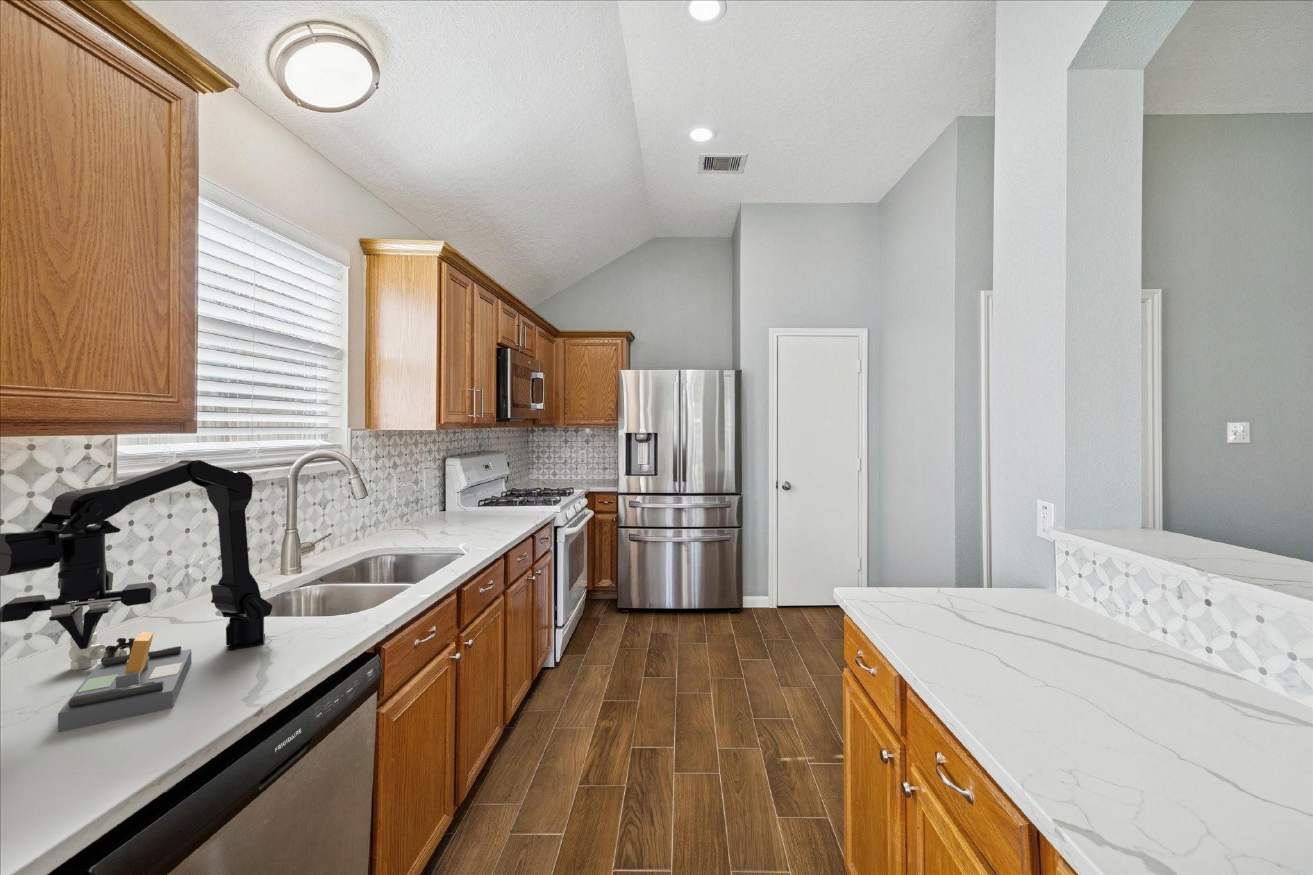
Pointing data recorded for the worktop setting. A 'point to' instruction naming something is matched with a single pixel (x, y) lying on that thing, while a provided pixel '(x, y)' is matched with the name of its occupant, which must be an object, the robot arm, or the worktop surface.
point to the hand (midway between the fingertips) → (84, 648)
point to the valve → (96, 652)
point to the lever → (139, 652)
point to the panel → (127, 689)
